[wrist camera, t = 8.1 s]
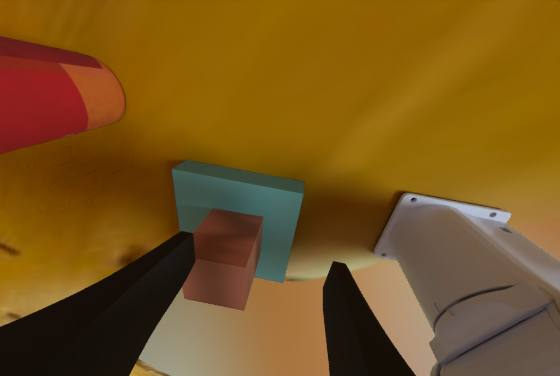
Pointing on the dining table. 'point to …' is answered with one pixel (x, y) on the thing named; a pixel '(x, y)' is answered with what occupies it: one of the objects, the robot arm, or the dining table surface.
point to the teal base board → (242, 206)
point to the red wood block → (225, 258)
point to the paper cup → (53, 94)
